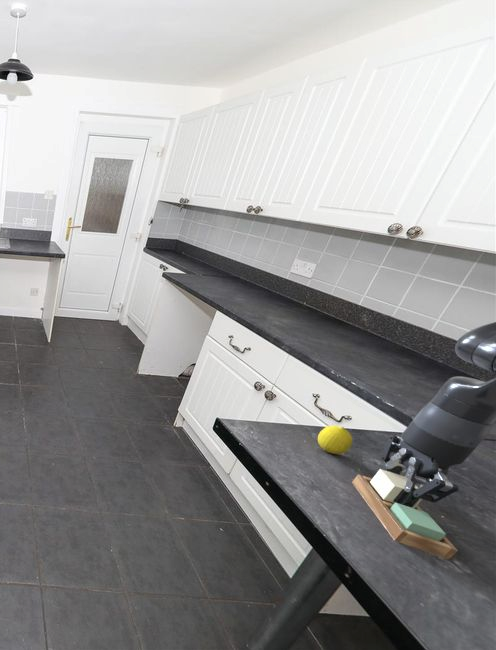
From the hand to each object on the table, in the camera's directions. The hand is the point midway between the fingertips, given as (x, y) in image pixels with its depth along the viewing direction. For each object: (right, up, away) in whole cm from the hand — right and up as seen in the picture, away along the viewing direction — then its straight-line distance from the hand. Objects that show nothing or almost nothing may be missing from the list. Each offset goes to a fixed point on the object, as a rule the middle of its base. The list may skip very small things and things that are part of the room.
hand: (391, 494), depth 68 cm
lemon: (+1, +2, +14) cm, 15 cm away
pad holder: (-2, -4, -2) cm, 5 cm away
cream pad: (0, 0, 0) cm, 0 cm away
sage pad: (-3, -5, -5) cm, 7 cm away
